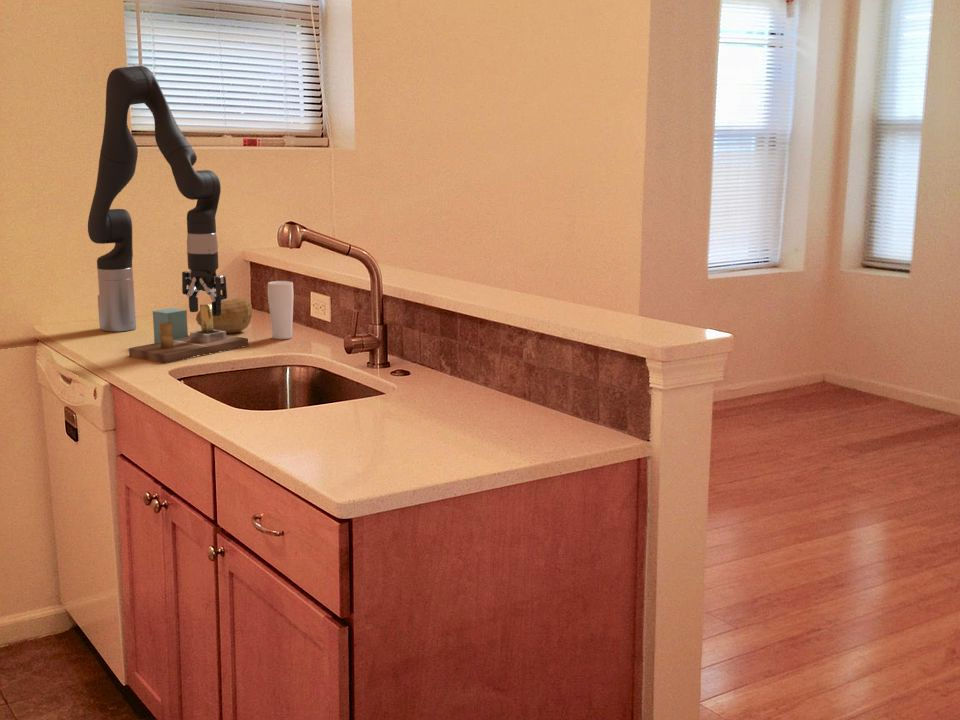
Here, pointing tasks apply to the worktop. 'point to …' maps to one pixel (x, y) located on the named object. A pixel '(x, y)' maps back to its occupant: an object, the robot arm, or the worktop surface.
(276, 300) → the drinking glass
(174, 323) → the block
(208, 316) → the pin
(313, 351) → the worktop surface
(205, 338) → the board
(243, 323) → the potato
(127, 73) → the robot arm
